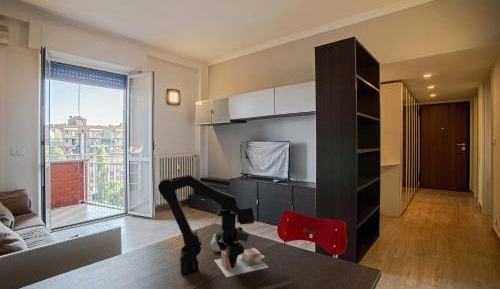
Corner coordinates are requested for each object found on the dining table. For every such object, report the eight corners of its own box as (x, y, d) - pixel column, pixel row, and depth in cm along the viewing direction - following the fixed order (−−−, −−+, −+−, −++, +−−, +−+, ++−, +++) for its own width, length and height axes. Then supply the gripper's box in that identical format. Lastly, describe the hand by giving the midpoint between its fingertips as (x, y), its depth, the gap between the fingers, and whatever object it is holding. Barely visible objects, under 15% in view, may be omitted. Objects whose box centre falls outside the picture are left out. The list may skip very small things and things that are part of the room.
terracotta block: (225, 269, 105) (225, 254, 105) (221, 264, 110) (221, 250, 110) (237, 267, 107) (236, 252, 107) (232, 262, 112) (232, 248, 112)
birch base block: (247, 265, 108) (247, 255, 108) (242, 259, 114) (241, 250, 114) (260, 262, 111) (260, 253, 111) (254, 256, 116) (254, 247, 116)
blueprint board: (226, 279, 99) (226, 276, 99) (214, 262, 114) (214, 260, 114) (268, 269, 107) (268, 267, 107) (251, 254, 121) (251, 252, 121)
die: (206, 252, 126) (207, 240, 120) (216, 238, 133) (217, 225, 127) (222, 260, 124) (224, 248, 118) (231, 245, 131) (233, 233, 125)
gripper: (256, 229, 103) (256, 269, 103) (238, 217, 120) (238, 251, 120) (229, 233, 98) (229, 275, 99) (214, 220, 115) (215, 256, 116)
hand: (229, 263), depth 108 cm, fingers open, 8 cm apart
